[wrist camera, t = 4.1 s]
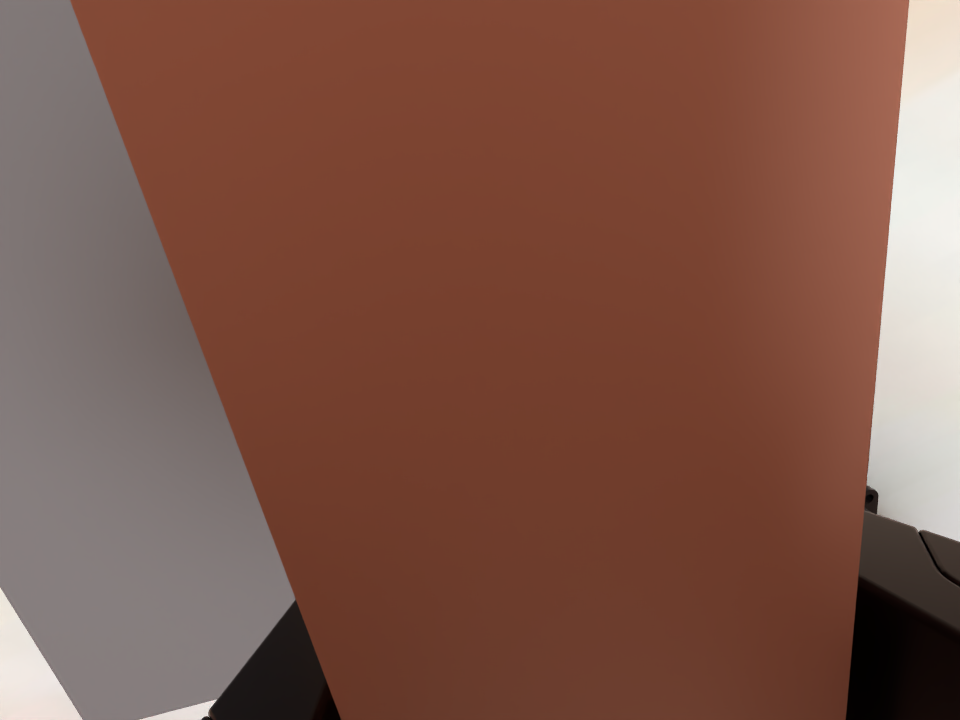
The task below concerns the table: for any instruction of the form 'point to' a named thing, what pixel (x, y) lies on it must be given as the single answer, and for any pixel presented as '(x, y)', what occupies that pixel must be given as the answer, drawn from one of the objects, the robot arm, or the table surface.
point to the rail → (537, 330)
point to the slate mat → (110, 412)
